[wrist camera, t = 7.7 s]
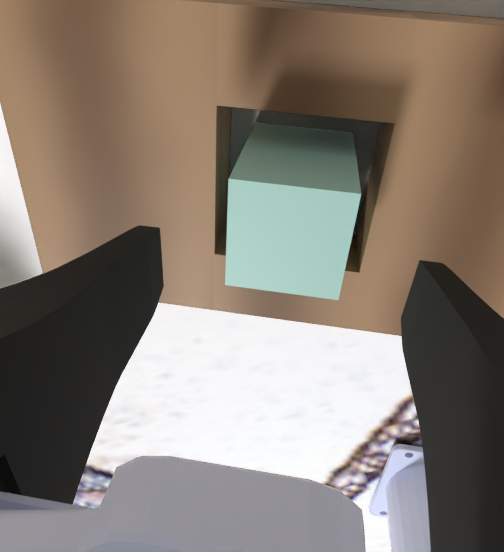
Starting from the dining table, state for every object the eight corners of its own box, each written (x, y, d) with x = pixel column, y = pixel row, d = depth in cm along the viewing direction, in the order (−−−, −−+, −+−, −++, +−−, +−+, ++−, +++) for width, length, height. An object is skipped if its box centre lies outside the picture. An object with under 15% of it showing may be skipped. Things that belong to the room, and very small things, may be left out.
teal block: (353, 132, 18) (361, 193, 13) (336, 220, 21) (338, 300, 16) (255, 122, 19) (228, 179, 14) (249, 209, 21) (225, 285, 16)
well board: (650, 30, 15) (713, 43, 13) (510, 310, 22) (533, 353, 19) (22, -20, 17) (-30, -17, 14) (75, 253, 24) (46, 286, 21)
